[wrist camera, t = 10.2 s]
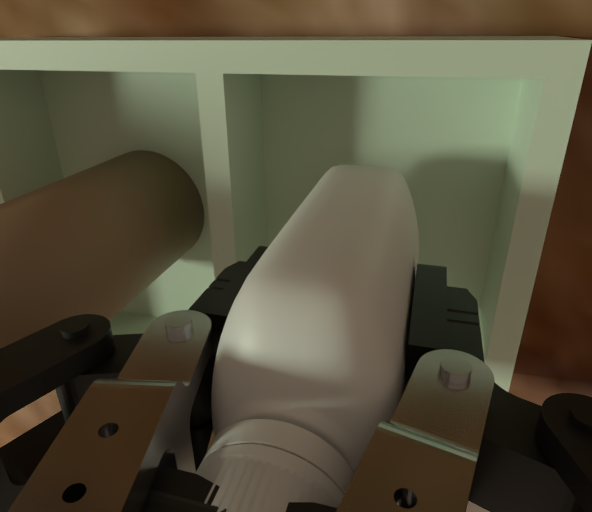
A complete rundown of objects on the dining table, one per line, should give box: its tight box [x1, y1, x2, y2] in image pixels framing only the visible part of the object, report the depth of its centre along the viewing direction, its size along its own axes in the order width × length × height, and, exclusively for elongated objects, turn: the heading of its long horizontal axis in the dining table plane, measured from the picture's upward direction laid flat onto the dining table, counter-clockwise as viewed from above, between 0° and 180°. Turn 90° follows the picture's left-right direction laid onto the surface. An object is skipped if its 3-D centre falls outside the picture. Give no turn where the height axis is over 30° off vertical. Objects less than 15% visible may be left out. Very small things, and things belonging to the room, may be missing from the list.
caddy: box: [0, 36, 592, 392], centre depth 13 cm, size 12×18×12 cm, turn 90°
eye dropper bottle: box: [195, 165, 419, 512], centre depth 10 cm, size 4×6×12 cm
